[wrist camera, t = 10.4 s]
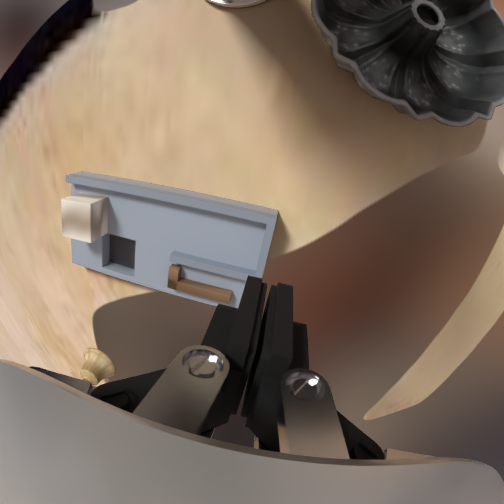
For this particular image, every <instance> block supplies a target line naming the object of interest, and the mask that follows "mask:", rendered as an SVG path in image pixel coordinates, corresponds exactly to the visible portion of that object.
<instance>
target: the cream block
mask: <svg viewBox="0 0 504 504" xmlns="http://www.w3.org/2000/svg"><path fill="white" fill-rule="evenodd" d="M61 205H62V231H63V236H64V237H68V238H72V239H76V240H80V241H84V242H88V243H92V242H94V241H95V240H97V239H99V238H100V237H102V236H103V235H105V234H107V233H108V197H106V196H100V195H94V194H87V193H77V194H74V195H71V196H68V197H66V198H63V199H61Z"/></svg>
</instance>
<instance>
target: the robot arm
mask: <svg viewBox="0 0 504 504" xmlns="http://www.w3.org/2000/svg"><path fill="white" fill-rule="evenodd" d="M208 1H209V2H211V3H213V4H216V5H219V6H223V7H231V8H242V7H248V6H253V5H256V4H260V3H262V2H264V1H266V0H208ZM230 2H232V3H230ZM266 289H267V284H266V283H262V278H258V277H254V276H250V275H248V277H247V280H246V284H245V287H244V290H243V294H242V297H241V300H240V303H239V307H238V308H235V307H231V306H227V305H223V304H218V305H217V308H216V310H215V313H214V315H213V317H212V320H211V322H210V324H209V327H208V329H207V332H206V334H205V336H204V339H203V341H202V344H201V345H195V346H190V347H187V348H185V349H183V350H182V351H181V352H180V353H179V354H178V355H177V357H176V358H175V359H174V360H173V361H172V363H171V364H170V365H169V367H168V368H166V369H162V370H158V371H155V372H151V373H147V374H143V375H139V376H135V377H130V378H126V379H122V380H118V381H113V382H109V383H105V384H102V385H100V386H98V387H95V386H92V384H91V382H89V381H85V380H81V379H77V378H74V377H70V376H66V375H63V374H59V373H56V372H52V371H49V370H46V369H43V368H40V367H33V366H32V367H27V366H24V365H21V364H18V363H15V362H13V361H8V360H3V359H0V504H504V483H503V481H502V479H501V477H500V475H499V474H498V472H496V470H494V468H492V467H490V466H488V465H486V464H484V463H480V462H477V461H473V460H467V459H459V458H436V457H434V456H428V455H422V454H416V453H410V452H405V451H400V450H395V449H390V448H387V449H386V450H385V451H383V450H382V449H381V448H380V447H379V446H378V445H377V443H375V442H374V441H373V440H372V439H371V438H369V437H368V436H367V435H366V434H364V433H363V432H362V431H361V430H360V429H358V428H357V427H356V426H355V425H354V424H352V423H351V422H350V421H349V420H347V419H346V418H345V417H344V416H343V415H341V414H340V413H339V412H338V411H337V410H336V407H335V404H334V400H333V397H332V393H331V390H330V387H329V385H328V383H327V381H326V380H325V379H324V378H323V377H322V376H321V375H319V374H318V373H316V372H314V371H311V370H309V358H308V338H307V325H306V324H302V323H298V322H293V286H290V285H286V284H282V283H278V284H277V286H274V285H272V286H271V289H270V292H269V296H268V300H267V303H266V306H265V310H264V313H263V307H264V301H265V295H266ZM262 313H263V317H262ZM261 319H262V320H261ZM247 379H248V380H247ZM246 382H247V386H246V391H245V396H244V401H243V407H242V411H241V416H242V417H247V418H246V423H245V426H246V427H249V428H250V430H251V431H252V432H253V433H254V434H255V435H256V436H255V440H254V448H250V447H245V446H241V445H236V444H231V443H227V442H223V441H218V440H214V439H211V436H212V434H213V432H214V428H216V427H218V426H220V425H223V424H225V423H227V422H228V420H229V416H230V414H233V415H236V413H237V410H238V407H239V403H240V400H241V397H242V394H243V391H244V388H245V385H246Z"/></svg>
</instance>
